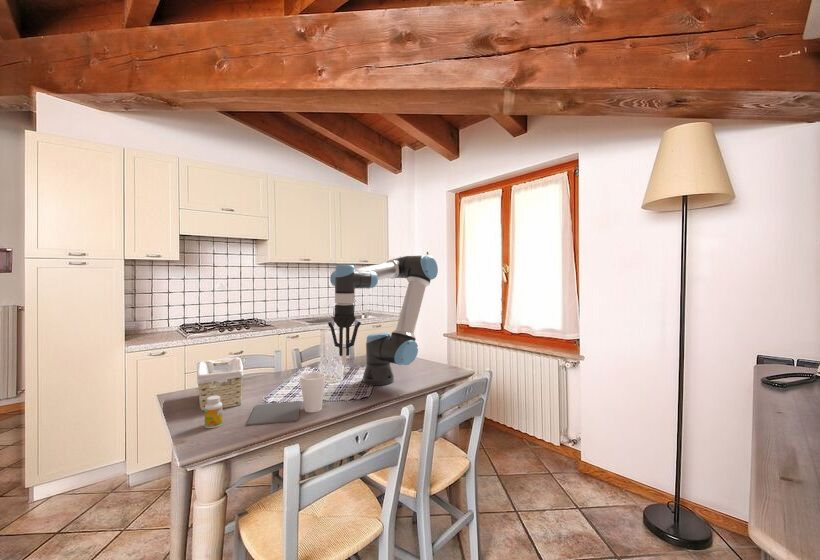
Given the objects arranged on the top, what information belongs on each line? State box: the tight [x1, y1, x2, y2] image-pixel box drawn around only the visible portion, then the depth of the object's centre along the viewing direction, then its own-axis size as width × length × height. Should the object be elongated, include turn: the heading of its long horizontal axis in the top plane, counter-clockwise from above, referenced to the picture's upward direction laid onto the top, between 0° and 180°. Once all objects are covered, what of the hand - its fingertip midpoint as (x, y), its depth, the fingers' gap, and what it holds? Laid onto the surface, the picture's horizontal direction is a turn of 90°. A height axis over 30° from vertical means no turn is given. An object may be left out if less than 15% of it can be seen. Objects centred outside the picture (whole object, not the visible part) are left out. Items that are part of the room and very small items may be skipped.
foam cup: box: [299, 371, 327, 413], centre depth 137 cm, size 10×9×13 cm
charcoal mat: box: [246, 400, 302, 427], centre depth 133 cm, size 17×18×1 cm
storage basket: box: [196, 356, 244, 412], centre depth 147 cm, size 24×16×15 cm
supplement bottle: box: [204, 396, 224, 429], centre depth 123 cm, size 5×5×10 cm
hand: (344, 364), depth 140 cm, fingers closed
